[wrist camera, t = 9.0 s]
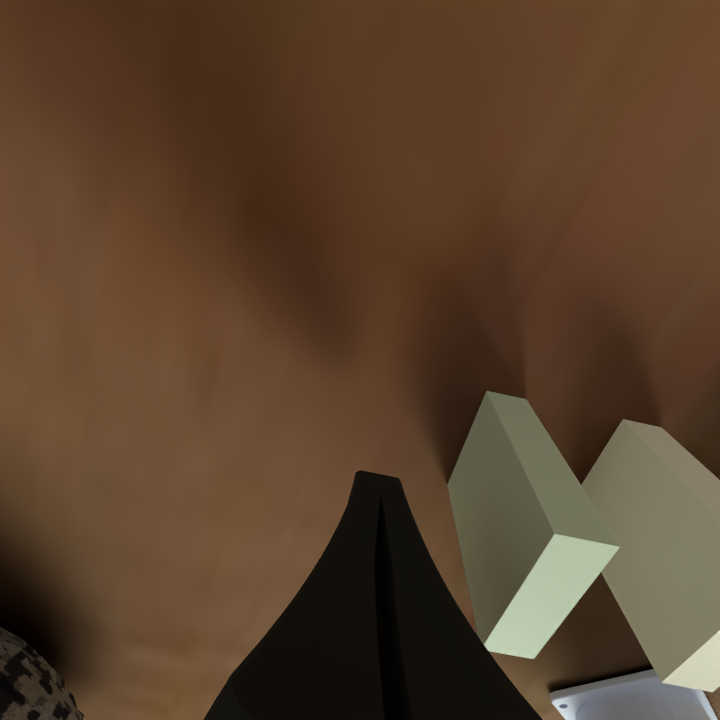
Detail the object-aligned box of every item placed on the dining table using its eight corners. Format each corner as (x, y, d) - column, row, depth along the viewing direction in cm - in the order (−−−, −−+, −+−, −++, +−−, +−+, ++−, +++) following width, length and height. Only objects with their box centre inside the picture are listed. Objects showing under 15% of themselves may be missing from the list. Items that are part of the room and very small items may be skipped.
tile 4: (661, 427, 15) (841, 590, 9) (600, 515, 17) (712, 692, 11) (622, 418, 15) (778, 578, 9) (566, 508, 17) (660, 682, 11)
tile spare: (526, 399, 15) (620, 547, 9) (481, 491, 17) (533, 659, 11) (486, 390, 15) (554, 533, 9) (447, 484, 17) (480, 649, 11)
